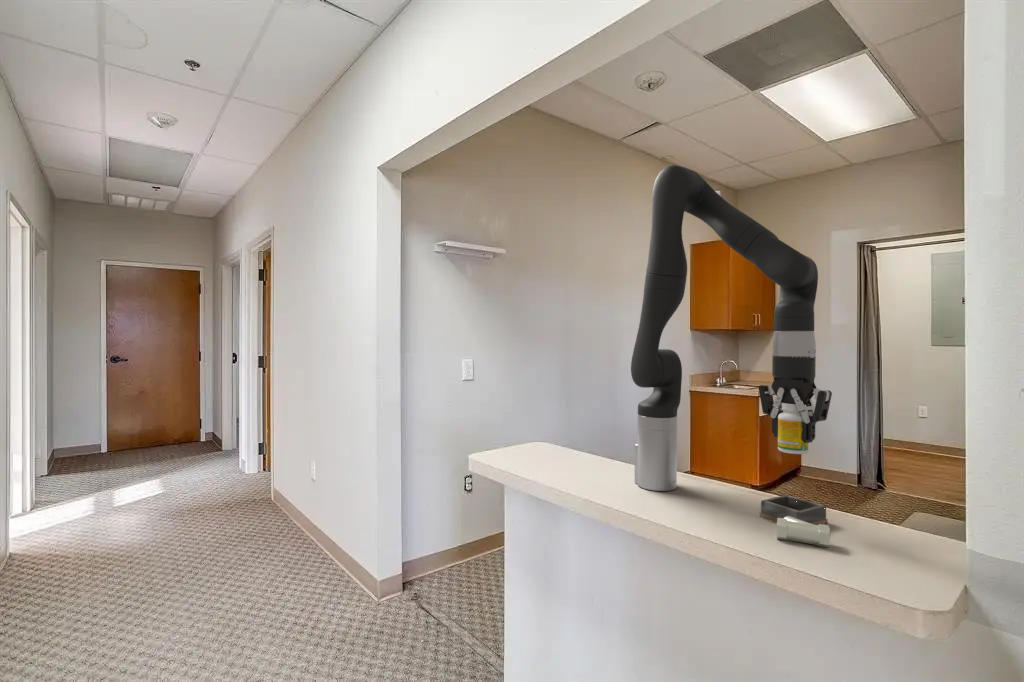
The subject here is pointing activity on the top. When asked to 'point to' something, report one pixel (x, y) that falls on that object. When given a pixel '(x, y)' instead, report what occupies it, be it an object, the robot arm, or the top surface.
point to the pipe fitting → (803, 531)
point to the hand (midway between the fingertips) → (793, 439)
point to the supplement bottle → (791, 430)
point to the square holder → (793, 509)
